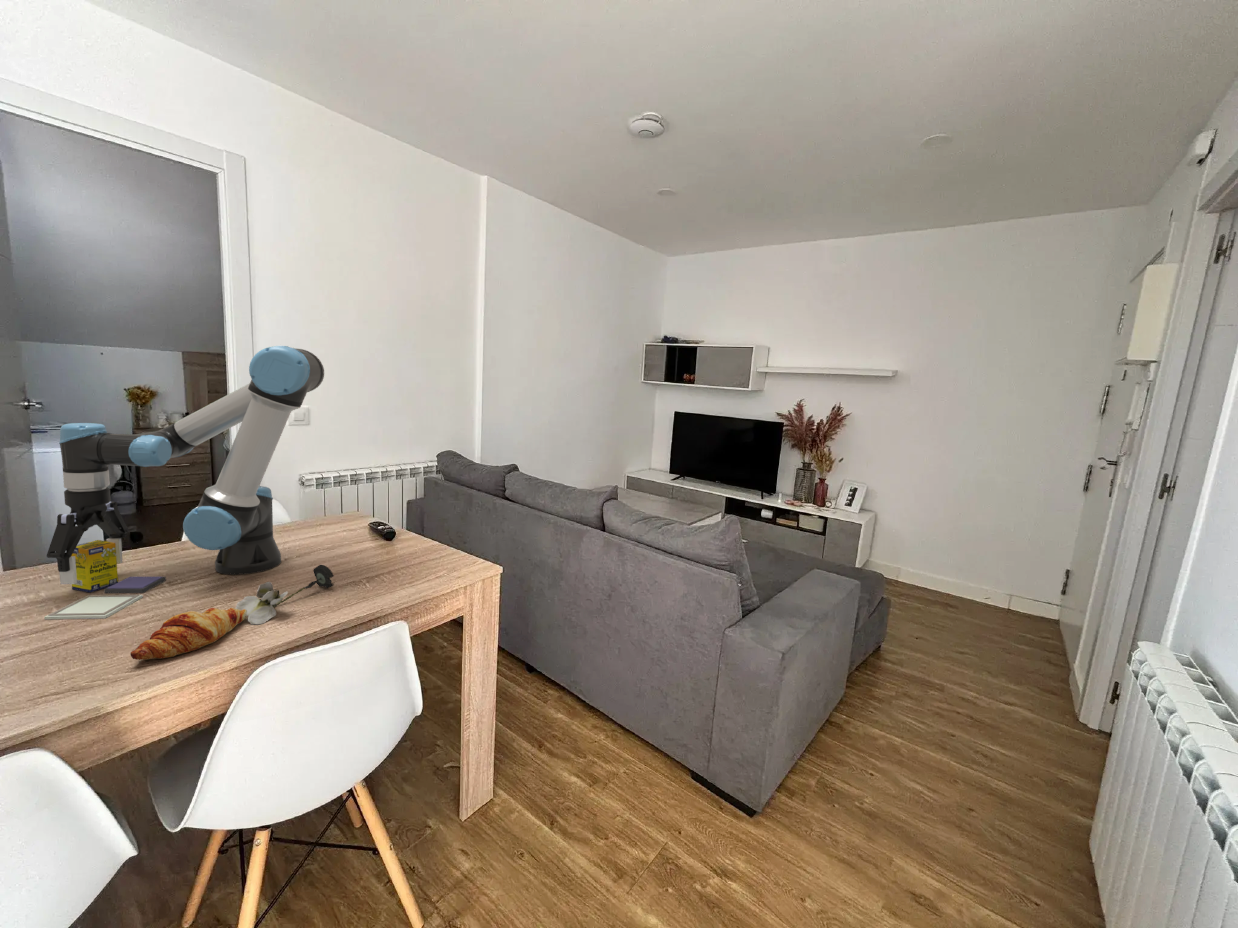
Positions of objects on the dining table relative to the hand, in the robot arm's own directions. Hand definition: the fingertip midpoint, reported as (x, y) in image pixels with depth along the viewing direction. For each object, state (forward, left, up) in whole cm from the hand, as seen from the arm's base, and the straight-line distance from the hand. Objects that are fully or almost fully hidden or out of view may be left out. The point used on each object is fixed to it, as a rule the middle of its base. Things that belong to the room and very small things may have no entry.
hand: (93, 572), depth 122 cm
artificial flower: (-48, +12, -4) cm, 50 cm away
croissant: (-38, +29, -4) cm, 48 cm away
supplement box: (0, 0, -4) cm, 4 cm away
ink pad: (-9, 0, -4) cm, 9 cm away
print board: (-9, +12, -4) cm, 15 cm away
